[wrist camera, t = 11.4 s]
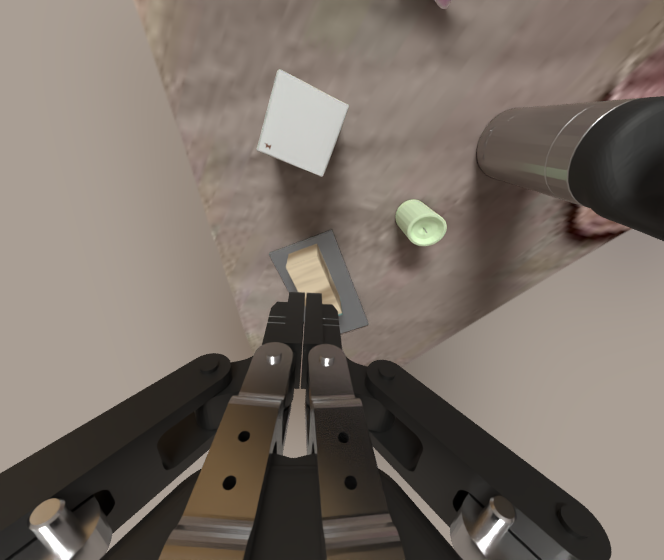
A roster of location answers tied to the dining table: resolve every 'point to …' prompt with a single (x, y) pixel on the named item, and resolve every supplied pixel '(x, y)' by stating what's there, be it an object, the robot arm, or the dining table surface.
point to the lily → (443, 3)
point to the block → (313, 275)
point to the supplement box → (301, 124)
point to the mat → (339, 273)
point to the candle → (420, 223)
